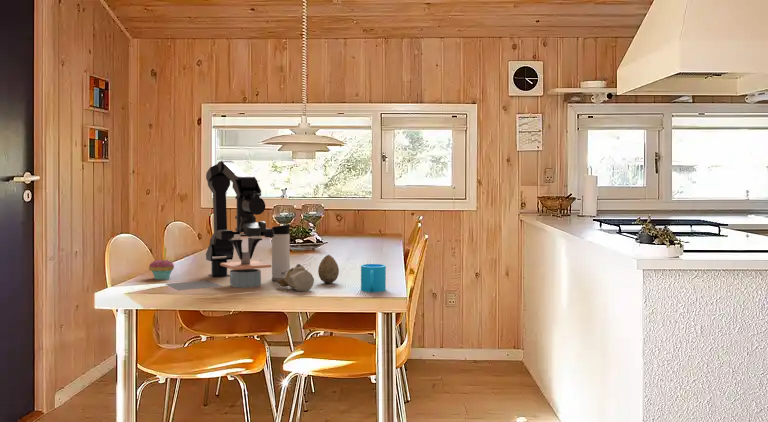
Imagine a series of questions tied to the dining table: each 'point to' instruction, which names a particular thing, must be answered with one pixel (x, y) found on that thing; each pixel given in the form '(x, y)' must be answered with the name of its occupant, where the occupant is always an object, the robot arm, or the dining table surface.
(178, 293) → the dining table surface
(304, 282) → the ceramic sculpture
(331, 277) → the decorative egg
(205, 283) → the mat
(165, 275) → the cupcake
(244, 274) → the bowl
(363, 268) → the mug
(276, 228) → the travel mug
